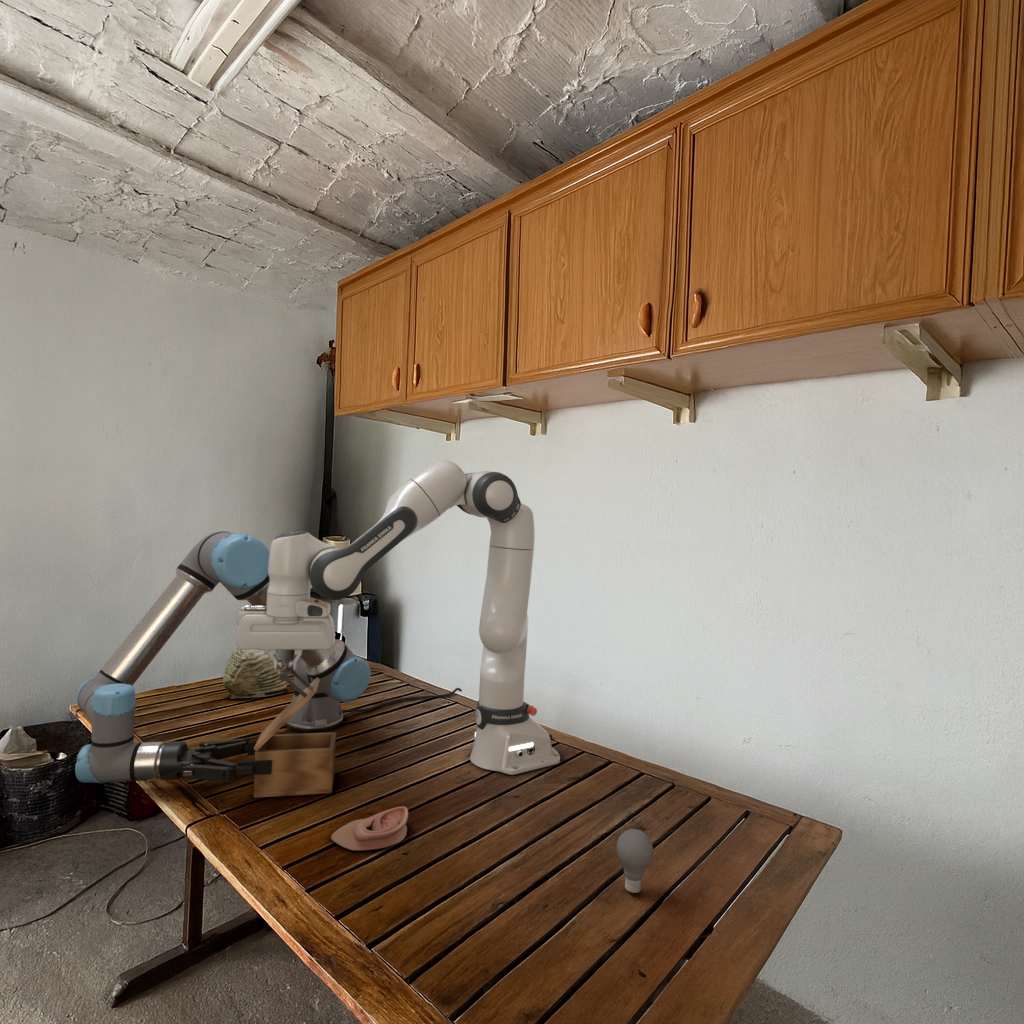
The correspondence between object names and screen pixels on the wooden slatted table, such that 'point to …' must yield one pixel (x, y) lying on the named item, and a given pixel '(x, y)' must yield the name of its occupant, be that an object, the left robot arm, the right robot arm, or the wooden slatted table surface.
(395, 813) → the anatomical model
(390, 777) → the wooden slatted table surface
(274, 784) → the chest
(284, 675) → the lid
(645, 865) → the light bulb
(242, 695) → the fossil
